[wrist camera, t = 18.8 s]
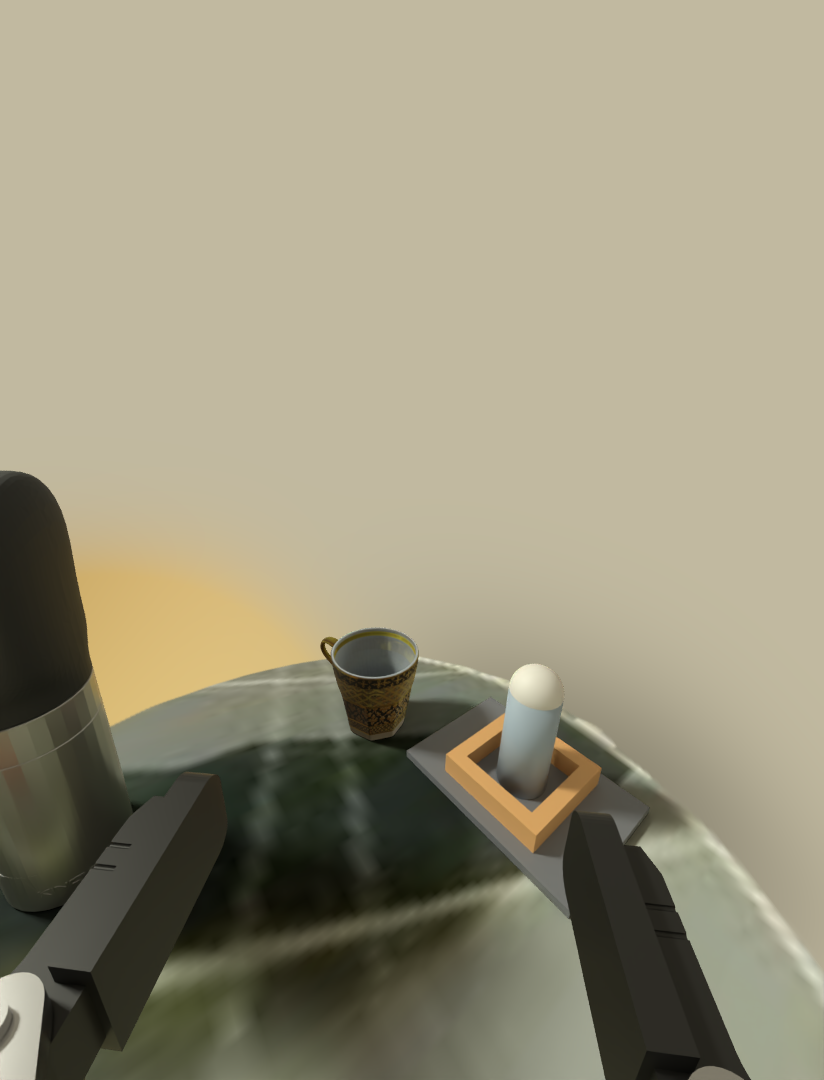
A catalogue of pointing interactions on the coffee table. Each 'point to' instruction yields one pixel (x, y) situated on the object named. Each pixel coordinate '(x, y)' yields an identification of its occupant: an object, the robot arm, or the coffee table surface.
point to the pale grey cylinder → (529, 730)
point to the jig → (512, 823)
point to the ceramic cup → (374, 678)
